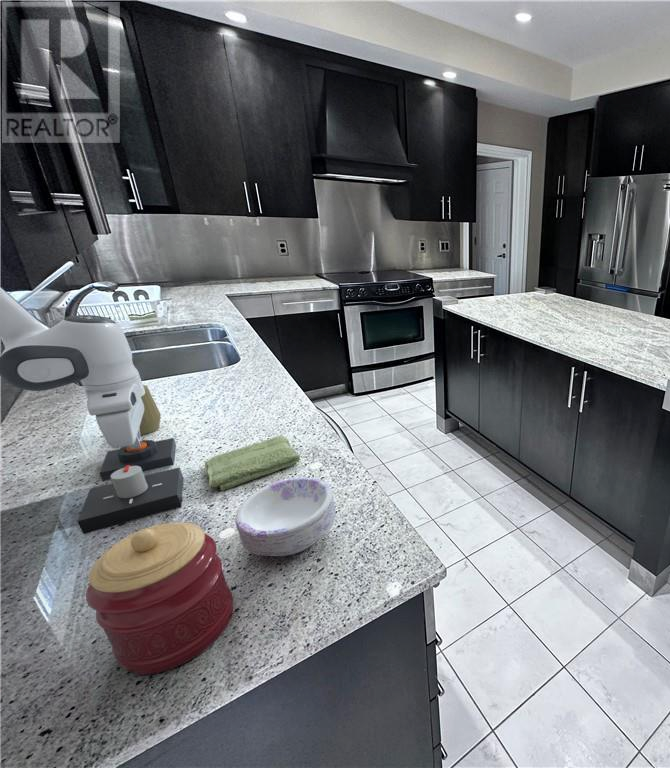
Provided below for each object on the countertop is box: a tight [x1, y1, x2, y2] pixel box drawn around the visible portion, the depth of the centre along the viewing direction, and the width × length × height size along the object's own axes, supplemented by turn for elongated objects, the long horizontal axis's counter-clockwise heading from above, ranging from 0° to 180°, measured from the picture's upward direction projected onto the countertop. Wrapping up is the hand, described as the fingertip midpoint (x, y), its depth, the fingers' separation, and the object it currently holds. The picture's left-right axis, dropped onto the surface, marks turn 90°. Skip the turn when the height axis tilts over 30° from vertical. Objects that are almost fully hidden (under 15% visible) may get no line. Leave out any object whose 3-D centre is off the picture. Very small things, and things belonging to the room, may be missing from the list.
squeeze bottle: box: [139, 384, 162, 436], centre depth 103 cm, size 8×8×18 cm
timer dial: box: [110, 465, 148, 498], centre depth 78 cm, size 4×4×5 cm
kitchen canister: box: [85, 522, 234, 675], centre depth 54 cm, size 13×13×18 cm
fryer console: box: [76, 467, 184, 535], centre depth 80 cm, size 14×11×3 cm
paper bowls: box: [234, 476, 337, 557], centre depth 72 cm, size 15×15×8 cm
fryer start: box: [126, 442, 148, 452], centre depth 92 cm, size 4×4×2 cm
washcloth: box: [204, 435, 301, 491], centre depth 93 cm, size 13×18×3 cm
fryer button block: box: [99, 437, 177, 482], centre depth 93 cm, size 12×10×4 cm
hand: (136, 446), depth 92 cm, fingers closed, pressing on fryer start
